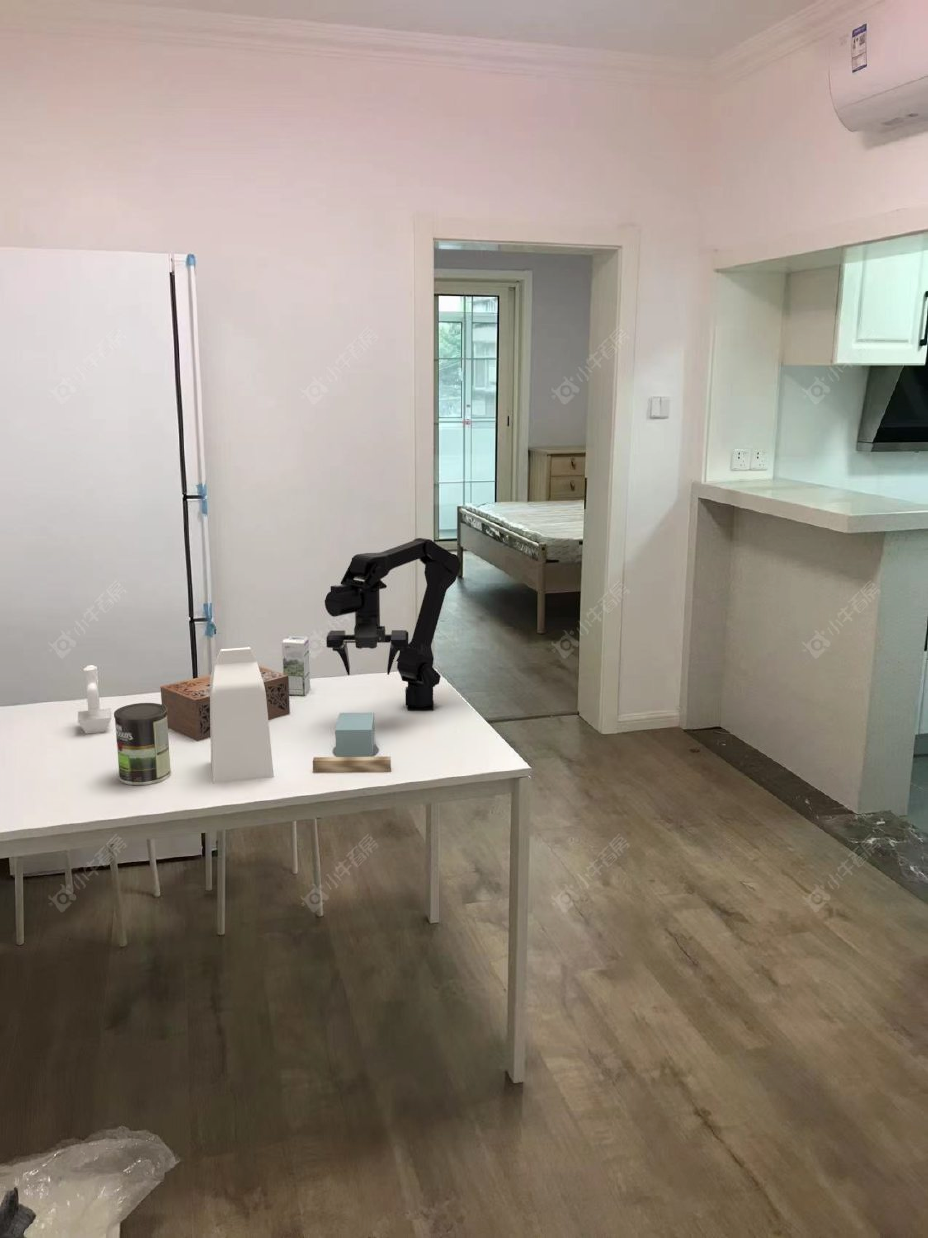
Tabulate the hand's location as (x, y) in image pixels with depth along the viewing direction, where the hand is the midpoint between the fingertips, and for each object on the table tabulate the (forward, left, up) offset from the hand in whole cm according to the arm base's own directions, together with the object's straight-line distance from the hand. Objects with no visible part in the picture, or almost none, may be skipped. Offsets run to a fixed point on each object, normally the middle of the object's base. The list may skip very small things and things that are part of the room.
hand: (368, 674), depth 233 cm
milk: (+25, +28, -12) cm, 40 cm away
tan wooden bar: (+2, +29, -12) cm, 31 cm away
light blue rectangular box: (+2, +18, -12) cm, 22 cm away
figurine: (+63, +3, -12) cm, 64 cm away
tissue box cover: (+34, -3, -13) cm, 36 cm away
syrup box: (+20, -24, -12) cm, 34 cm away
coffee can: (+44, +31, -12) cm, 55 cm away
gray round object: (+2, +18, -12) cm, 22 cm away
